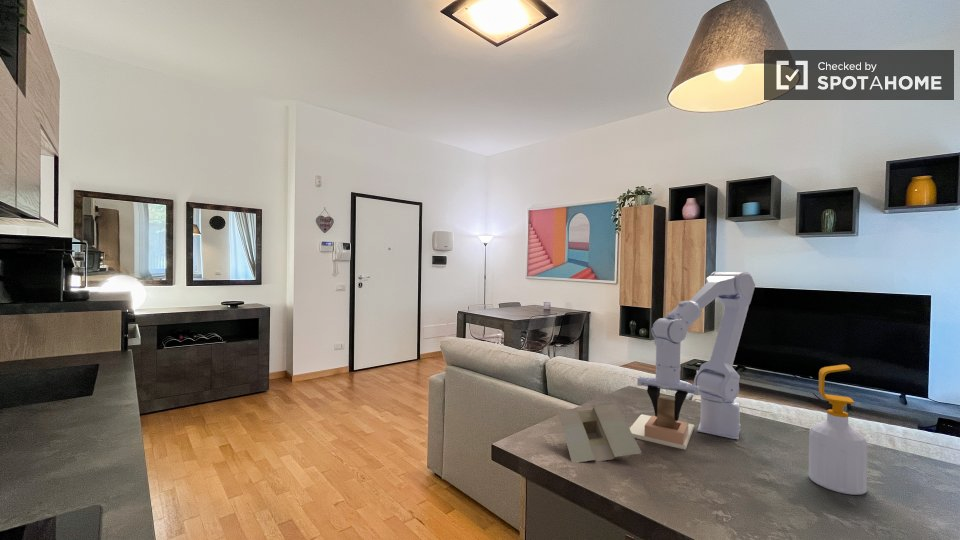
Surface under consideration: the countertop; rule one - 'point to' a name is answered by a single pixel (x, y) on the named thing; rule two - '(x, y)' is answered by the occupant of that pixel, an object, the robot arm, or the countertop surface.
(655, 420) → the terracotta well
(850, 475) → the soap bottle
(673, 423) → the walnut block
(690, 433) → the cream board
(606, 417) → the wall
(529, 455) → the countertop surface
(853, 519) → the countertop surface
